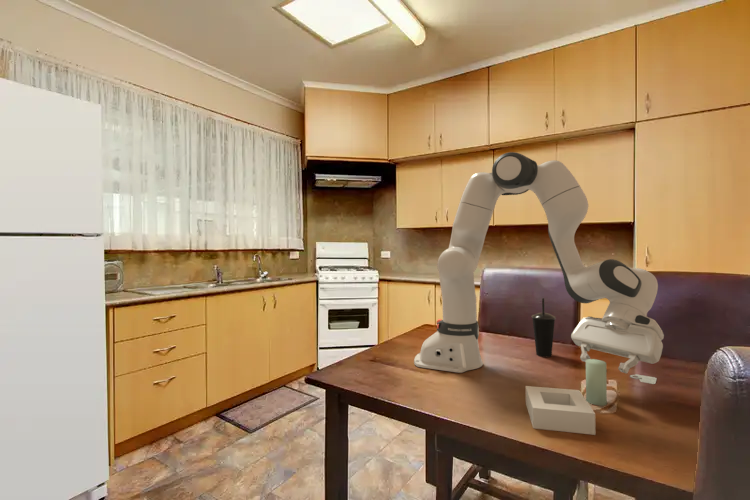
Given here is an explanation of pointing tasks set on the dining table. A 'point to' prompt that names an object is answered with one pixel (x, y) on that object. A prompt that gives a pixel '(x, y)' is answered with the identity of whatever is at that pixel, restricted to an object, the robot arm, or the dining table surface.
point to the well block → (559, 410)
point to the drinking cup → (543, 332)
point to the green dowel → (596, 382)
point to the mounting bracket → (645, 378)
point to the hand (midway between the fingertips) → (602, 365)
